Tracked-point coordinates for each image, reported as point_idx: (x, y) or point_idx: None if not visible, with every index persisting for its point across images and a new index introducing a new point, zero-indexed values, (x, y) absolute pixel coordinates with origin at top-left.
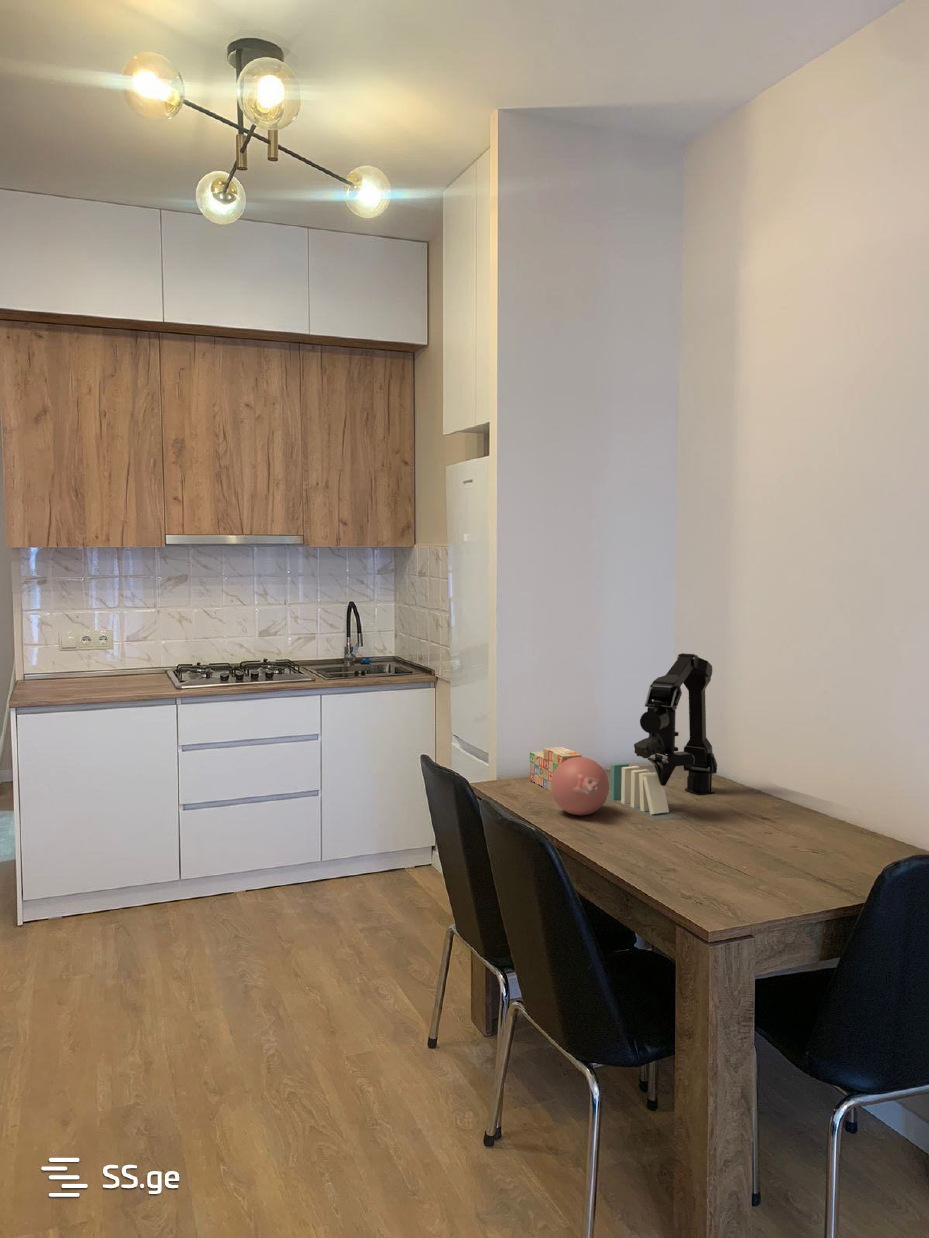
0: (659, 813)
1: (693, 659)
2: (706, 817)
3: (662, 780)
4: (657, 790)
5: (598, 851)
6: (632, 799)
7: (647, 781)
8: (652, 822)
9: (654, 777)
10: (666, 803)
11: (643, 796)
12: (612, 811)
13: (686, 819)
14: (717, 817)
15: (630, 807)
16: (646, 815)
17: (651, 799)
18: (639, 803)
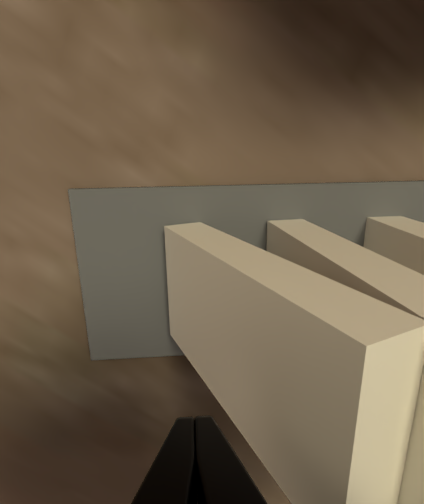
0: None
1: None
2: (69, 461)
3: (156, 463)
4: (235, 358)
5: None
6: (414, 226)
7: (306, 314)
8: (60, 140)
9: (327, 450)
10: (189, 354)
11: (306, 246)
12: (390, 44)
13: (64, 360)
14: (54, 501)
15: (385, 202)
16: (192, 187)
17: (203, 254)
18: None
